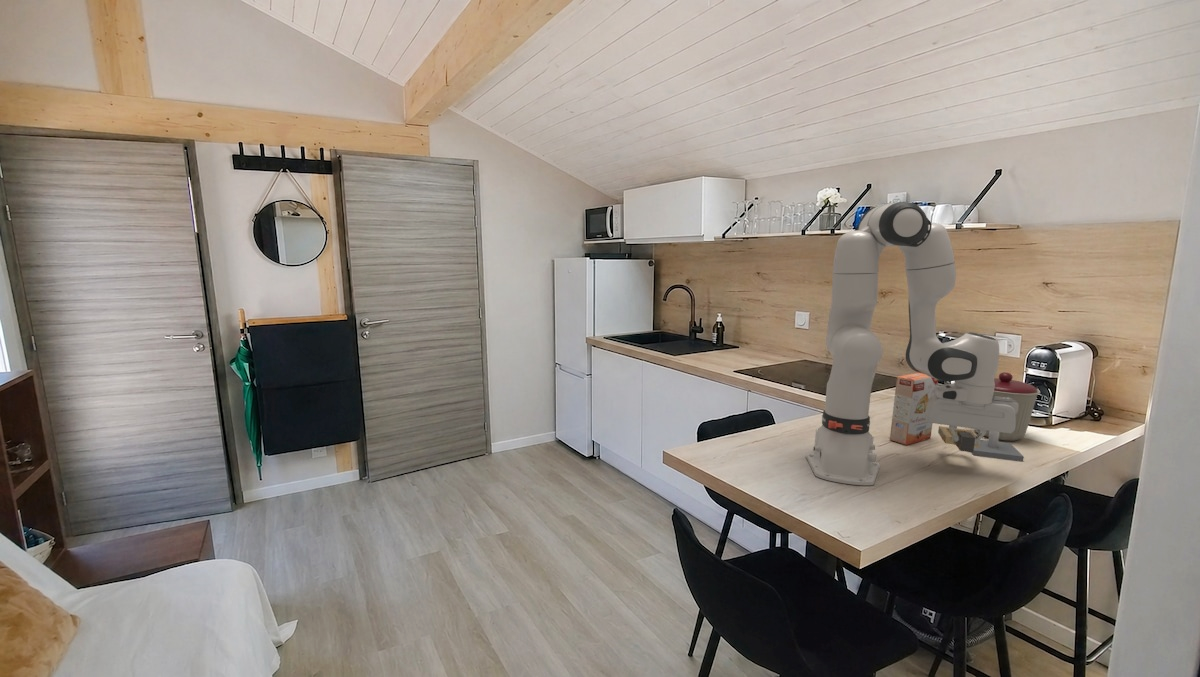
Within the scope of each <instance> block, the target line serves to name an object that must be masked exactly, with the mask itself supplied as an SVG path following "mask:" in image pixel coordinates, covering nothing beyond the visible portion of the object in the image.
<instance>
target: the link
mask: <svg viewBox="0 0 1200 677" xmlns="http://www.w3.org/2000/svg"><path fill="white" fill-rule="evenodd" d="M954 431H955V433H956V434H957V435H959V436H960V442H953V441H952V436H953V434H952V432H951V430H950V428H949V426H948V427H947V426H940V425H939V426H938V430H937V433H938V435H939V436H940V437H941V440H942V441H943V442H944V443H945V444H947V445H948V444H949V445H954V446H956V447H957V449H958V450H959V451H960V452H967V453H971V452H972V453H973V450H974V447H975V448H979V446H980V441H979V445H974V444H975V437H976V435H975V433H974V432H973V431H972V430H971V429H964V428H963V429H962V428H957V430H954ZM972 453H971V454H972Z"/></svg>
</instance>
